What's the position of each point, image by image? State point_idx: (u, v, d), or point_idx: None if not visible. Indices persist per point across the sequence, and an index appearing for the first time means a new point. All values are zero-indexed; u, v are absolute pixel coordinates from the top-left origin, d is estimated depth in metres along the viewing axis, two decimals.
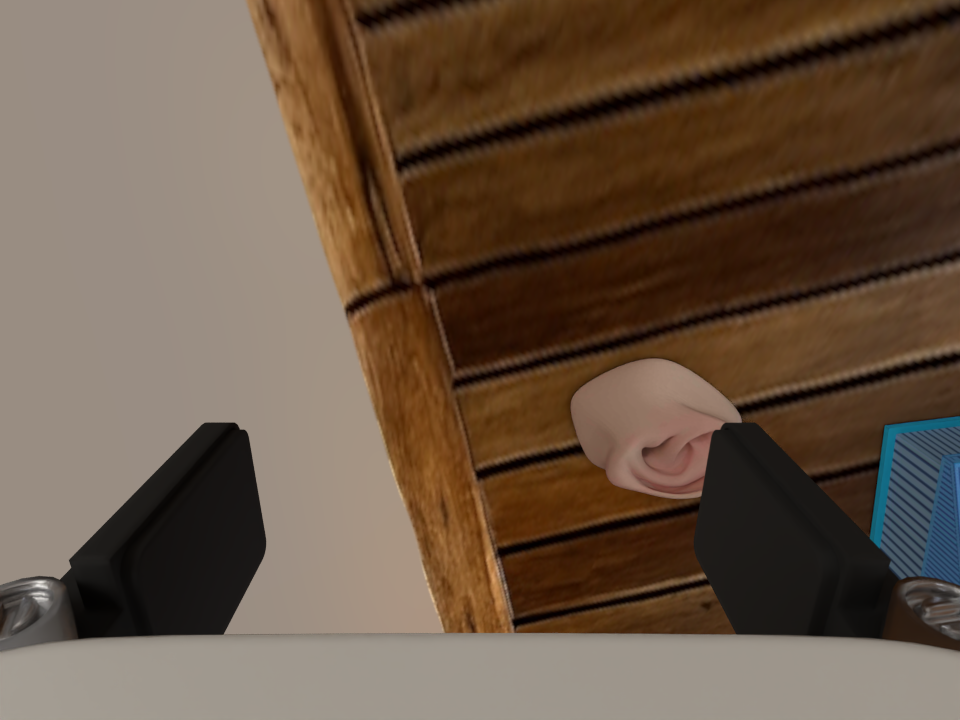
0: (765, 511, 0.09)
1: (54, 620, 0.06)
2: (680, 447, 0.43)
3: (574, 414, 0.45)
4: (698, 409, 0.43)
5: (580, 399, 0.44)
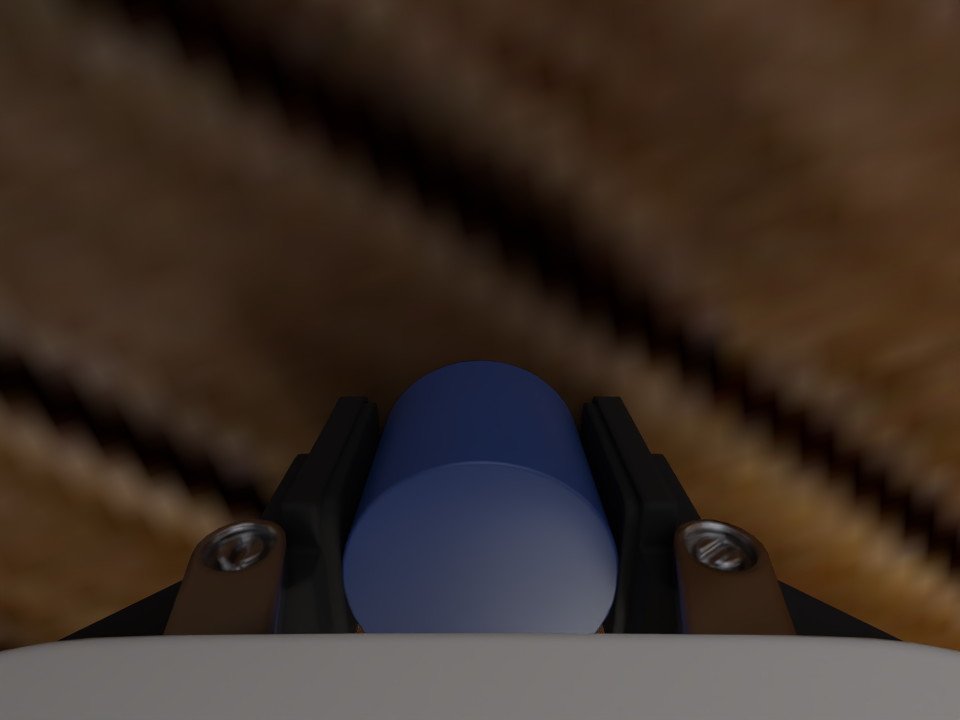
0: (603, 471, 0.10)
1: (285, 552, 0.07)
2: None
3: None
4: None
5: None
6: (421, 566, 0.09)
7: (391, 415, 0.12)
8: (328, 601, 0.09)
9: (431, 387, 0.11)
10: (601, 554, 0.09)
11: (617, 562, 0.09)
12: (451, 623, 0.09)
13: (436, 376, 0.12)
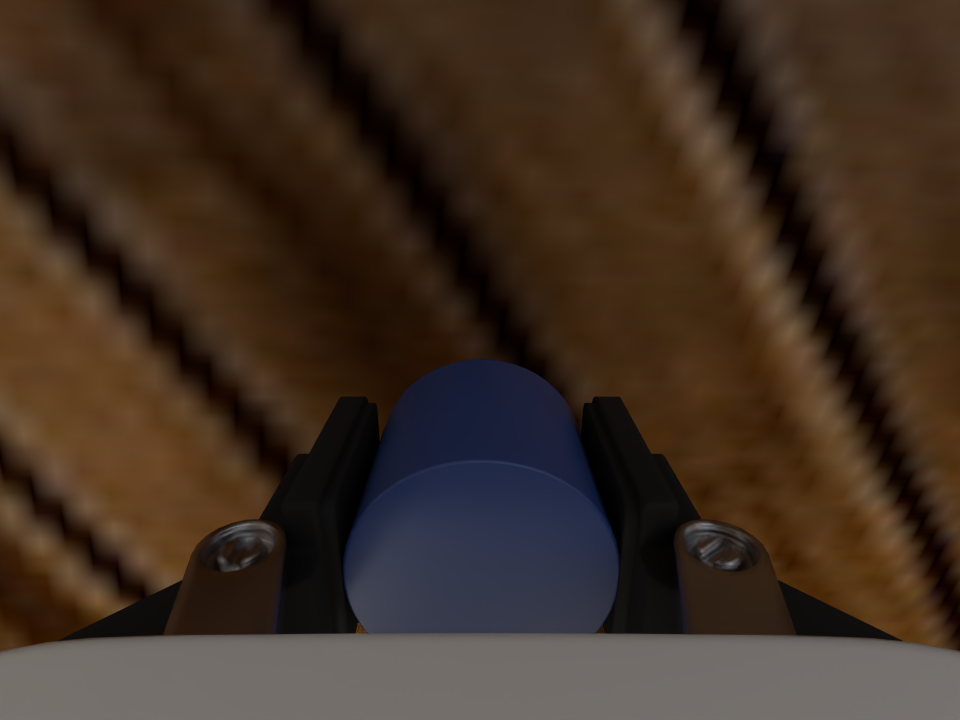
0: (604, 470, 0.10)
1: (285, 552, 0.07)
2: None
3: None
4: None
5: None
6: (422, 565, 0.09)
7: (392, 414, 0.12)
8: (327, 601, 0.09)
9: (432, 386, 0.11)
10: (602, 553, 0.09)
11: (618, 561, 0.09)
12: (452, 621, 0.09)
13: (436, 375, 0.11)
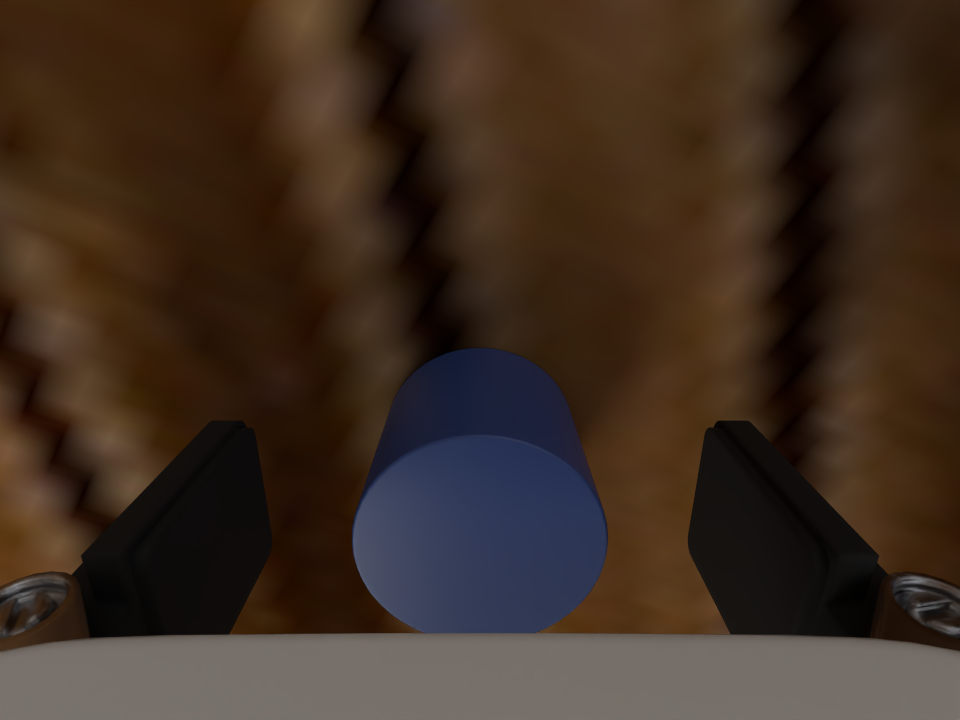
0: (756, 508, 0.09)
1: (67, 615, 0.07)
2: None
3: None
4: None
5: None
6: (425, 533, 0.09)
7: (396, 399, 0.12)
8: None
9: (434, 372, 0.12)
10: (591, 522, 0.09)
11: (605, 529, 0.09)
12: (452, 586, 0.10)
13: (438, 362, 0.12)
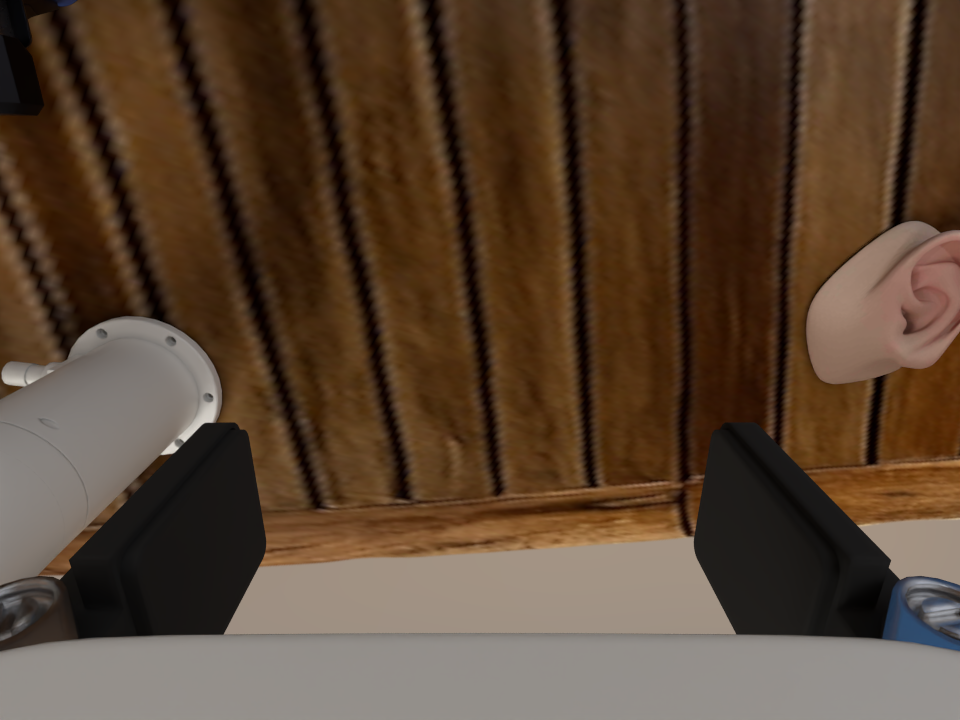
0: (765, 511, 0.09)
1: (54, 620, 0.06)
2: (917, 302, 0.43)
3: (841, 382, 0.48)
4: (880, 275, 0.43)
5: (828, 377, 0.47)
6: None
7: None
8: None
9: None
10: None
11: None
12: None
13: None
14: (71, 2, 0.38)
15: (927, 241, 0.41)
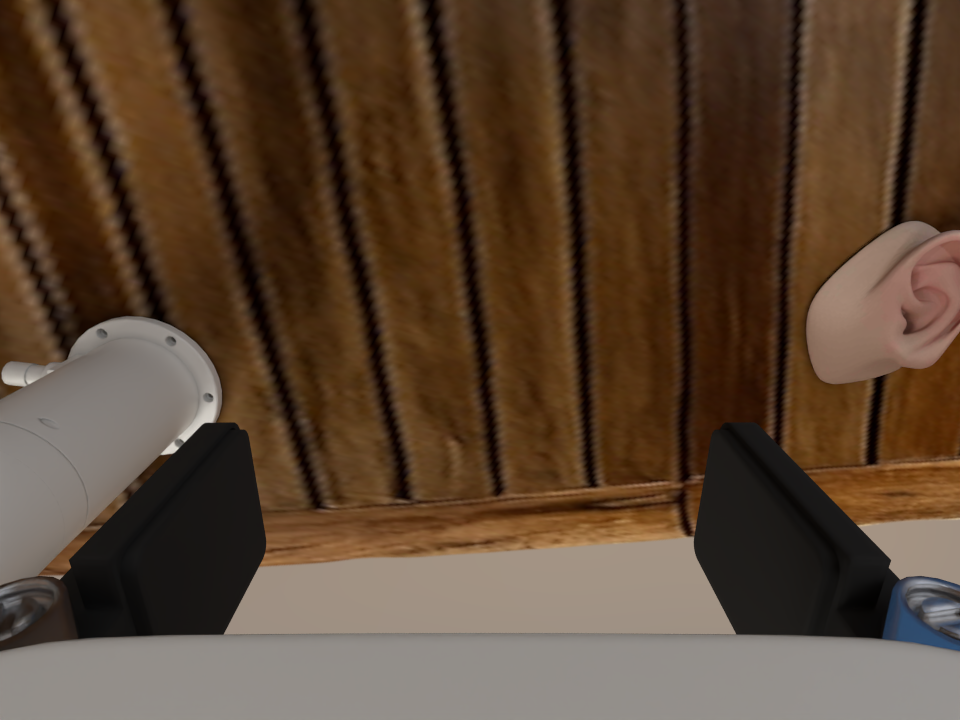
0: (765, 511, 0.09)
1: (54, 620, 0.06)
2: (917, 302, 0.43)
3: (841, 382, 0.48)
4: (880, 275, 0.43)
5: (828, 377, 0.47)
6: None
7: None
8: None
9: None
10: None
11: None
12: None
13: None
14: None
15: (927, 241, 0.41)
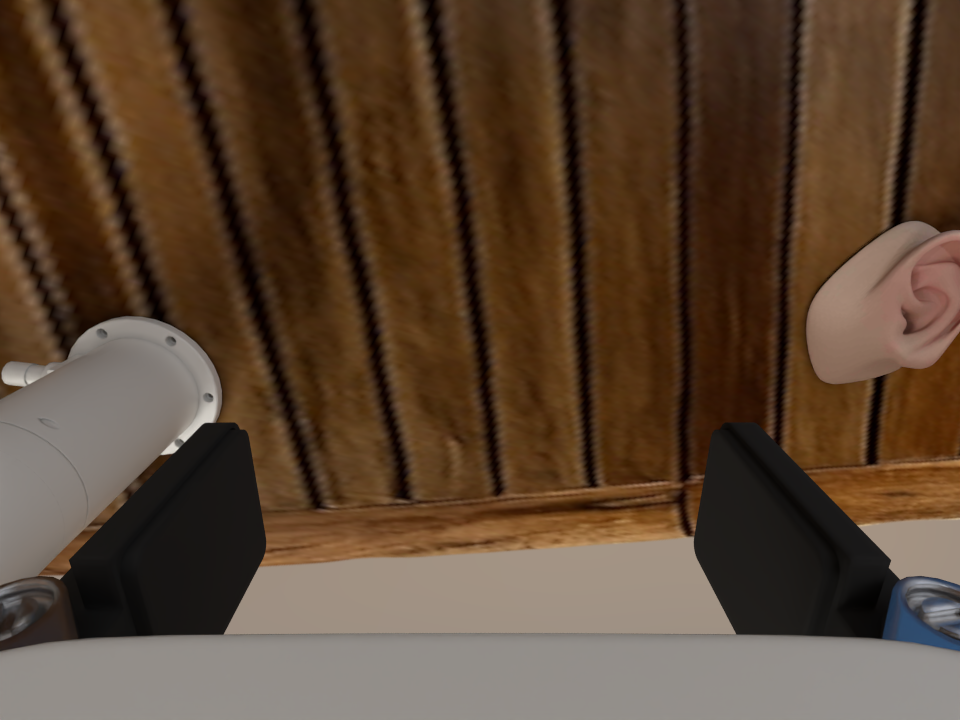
0: (765, 511, 0.09)
1: (54, 620, 0.06)
2: (917, 302, 0.43)
3: (841, 382, 0.48)
4: (880, 275, 0.43)
5: (828, 377, 0.47)
6: None
7: None
8: None
9: None
10: None
11: None
12: None
13: None
14: None
15: (927, 241, 0.41)
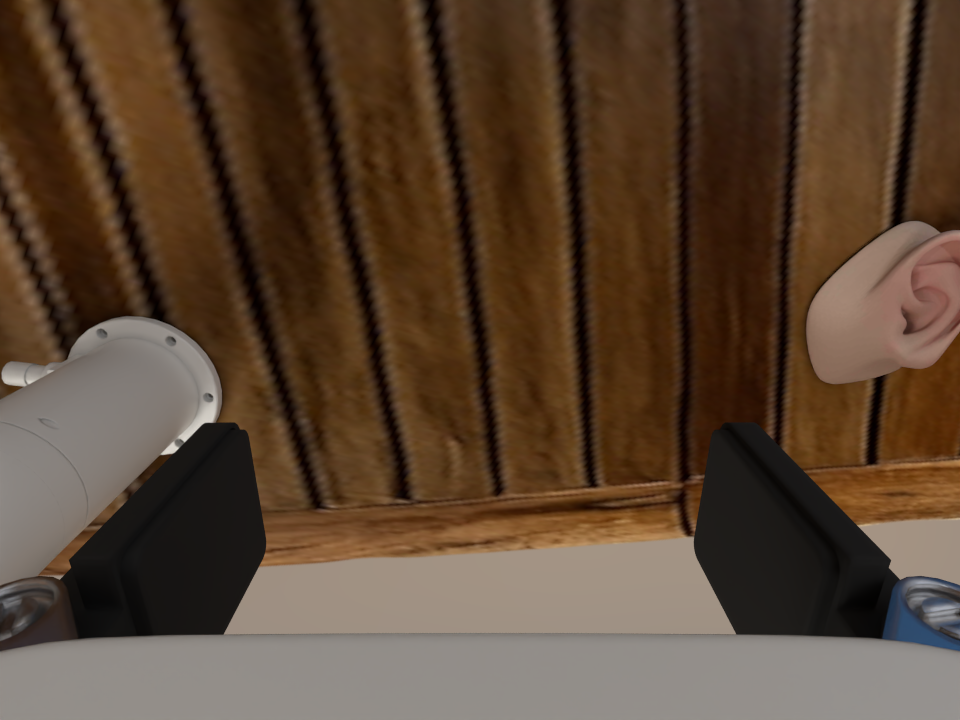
0: (765, 511, 0.09)
1: (54, 620, 0.06)
2: (917, 302, 0.43)
3: (841, 382, 0.48)
4: (880, 275, 0.43)
5: (828, 377, 0.47)
6: None
7: None
8: None
9: None
10: None
11: None
12: None
13: None
14: None
15: (927, 241, 0.41)
